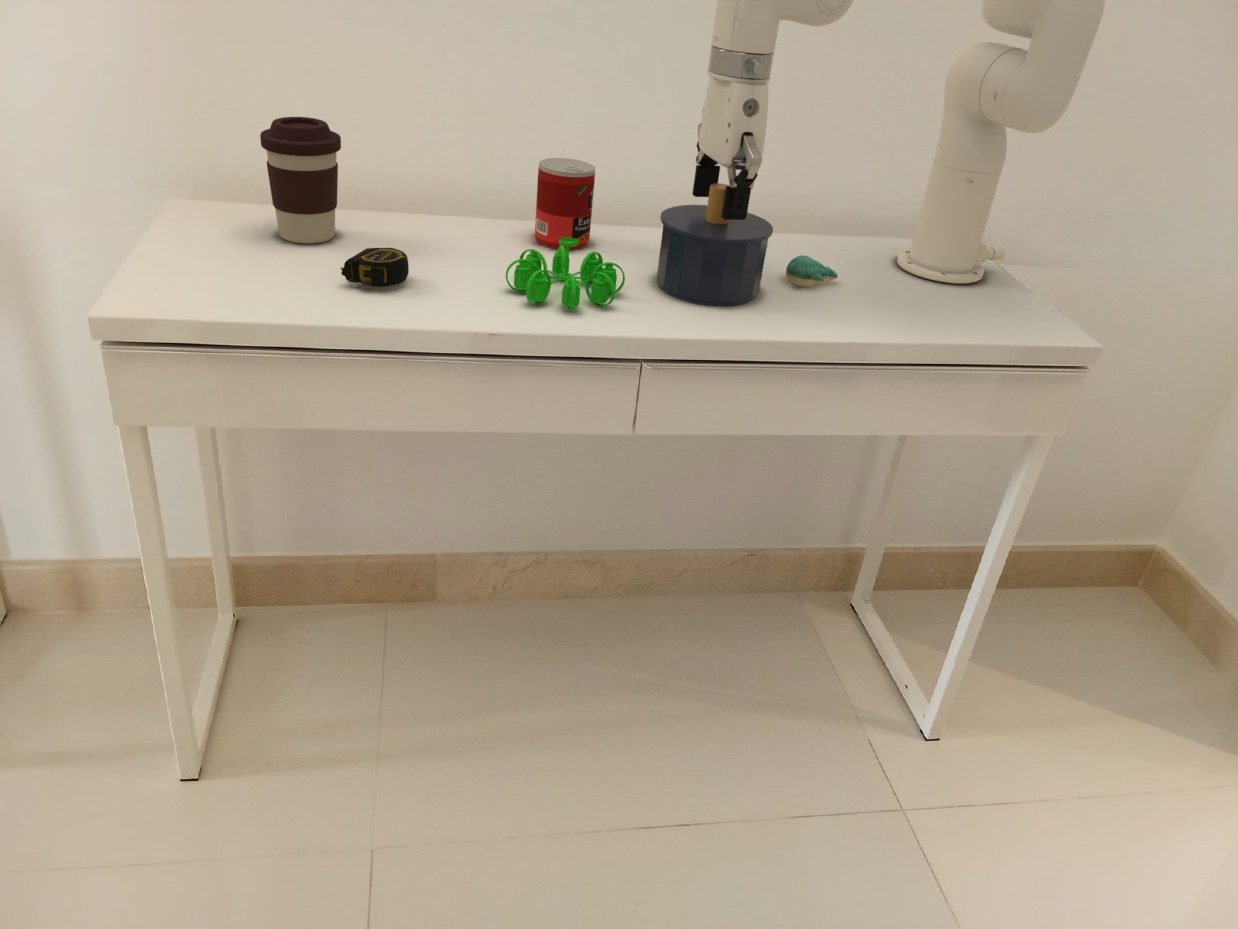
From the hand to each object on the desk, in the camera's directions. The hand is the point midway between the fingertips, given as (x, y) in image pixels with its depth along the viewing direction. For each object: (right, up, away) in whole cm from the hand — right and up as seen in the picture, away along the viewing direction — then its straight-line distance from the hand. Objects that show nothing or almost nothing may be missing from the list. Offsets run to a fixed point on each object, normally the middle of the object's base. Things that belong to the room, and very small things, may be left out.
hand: (718, 207), depth 127 cm
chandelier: (-20, -11, -1) cm, 23 cm away
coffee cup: (-55, -2, +8) cm, 56 cm away
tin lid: (0, -2, +1) cm, 2 cm away
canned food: (-21, -1, +16) cm, 27 cm away
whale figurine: (+14, -8, +11) cm, 20 cm away
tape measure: (-43, -11, -5) cm, 44 cm away
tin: (-1, -9, +5) cm, 11 cm away
